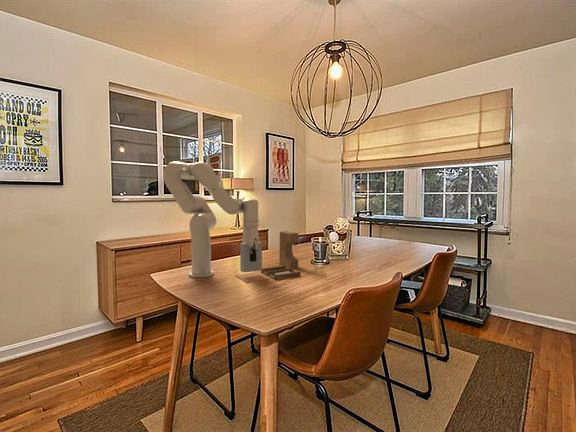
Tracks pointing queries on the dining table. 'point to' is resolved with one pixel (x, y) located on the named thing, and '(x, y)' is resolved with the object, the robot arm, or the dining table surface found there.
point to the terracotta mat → (251, 277)
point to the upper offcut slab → (282, 273)
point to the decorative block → (288, 249)
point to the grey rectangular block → (245, 258)
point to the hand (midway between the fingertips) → (251, 260)
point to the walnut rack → (272, 270)
